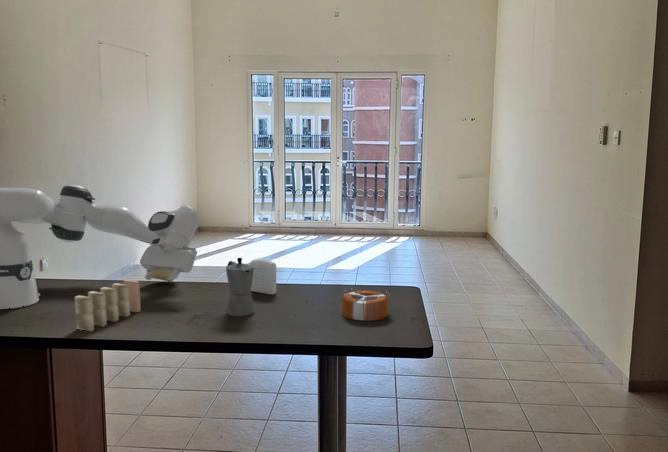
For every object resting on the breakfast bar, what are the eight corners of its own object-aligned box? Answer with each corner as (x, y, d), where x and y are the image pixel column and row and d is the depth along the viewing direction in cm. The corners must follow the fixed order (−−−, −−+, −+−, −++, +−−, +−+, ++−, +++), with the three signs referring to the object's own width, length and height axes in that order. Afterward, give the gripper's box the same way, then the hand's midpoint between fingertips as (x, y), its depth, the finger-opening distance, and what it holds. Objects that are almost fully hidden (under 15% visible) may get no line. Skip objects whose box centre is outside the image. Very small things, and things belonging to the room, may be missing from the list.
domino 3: (102, 319, 178) (100, 288, 177) (106, 318, 180) (104, 286, 178) (114, 321, 176) (113, 289, 175) (118, 320, 178) (116, 288, 176)
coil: (348, 305, 194) (392, 310, 190) (335, 319, 180) (382, 324, 176) (348, 286, 193) (392, 289, 189) (335, 298, 179) (382, 302, 174)
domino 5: (125, 310, 187) (123, 280, 186) (128, 309, 189) (127, 279, 187) (137, 312, 186) (135, 282, 184) (140, 310, 187) (139, 280, 185)
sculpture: (177, 278, 214) (181, 250, 216) (144, 276, 212) (148, 247, 215) (180, 283, 225) (184, 256, 227) (149, 281, 223) (153, 254, 226)
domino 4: (114, 314, 183) (112, 284, 181) (117, 313, 184) (115, 283, 183) (126, 316, 181) (124, 286, 179) (130, 315, 182) (128, 284, 181)
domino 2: (89, 324, 174) (87, 292, 172) (93, 322, 175) (91, 291, 173) (102, 326, 172) (100, 294, 170) (106, 325, 173) (104, 292, 172)
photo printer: (278, 292, 209) (278, 259, 207) (271, 295, 205) (270, 261, 203) (255, 288, 214) (254, 256, 212) (248, 291, 210) (247, 258, 208)
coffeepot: (263, 315, 183) (262, 259, 180) (235, 320, 178) (234, 263, 175) (242, 303, 196) (241, 251, 193) (216, 307, 191) (215, 254, 188)
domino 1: (76, 329, 169) (74, 296, 167) (81, 327, 171) (78, 295, 169) (89, 331, 167) (87, 298, 166) (94, 330, 169) (92, 297, 167)
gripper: (203, 253, 203) (187, 287, 196) (156, 249, 211) (140, 282, 203) (194, 243, 198) (178, 278, 191) (147, 239, 206) (130, 272, 199)
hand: (158, 280), depth 197 cm, fingers open, 8 cm apart
